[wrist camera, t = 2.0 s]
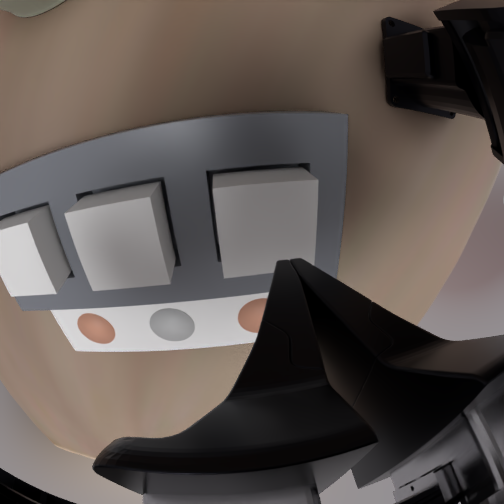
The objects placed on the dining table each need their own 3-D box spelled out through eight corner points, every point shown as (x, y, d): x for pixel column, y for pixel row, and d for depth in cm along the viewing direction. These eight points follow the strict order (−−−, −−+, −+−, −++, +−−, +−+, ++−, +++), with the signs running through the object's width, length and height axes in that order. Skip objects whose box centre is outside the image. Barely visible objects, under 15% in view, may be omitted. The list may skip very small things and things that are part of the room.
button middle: (160, 181, 13) (150, 196, 11) (175, 258, 15) (170, 284, 13) (84, 195, 12) (64, 213, 10) (106, 266, 14) (92, 291, 12)
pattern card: (312, 275, 20) (314, 279, 20) (307, 331, 23) (308, 334, 23) (48, 301, 18) (46, 304, 18) (76, 348, 21) (75, 351, 21)
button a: (49, 204, 12) (27, 222, 10) (72, 270, 14) (57, 293, 12) (4, 218, 12) (-17, 235, 10) (27, 275, 14) (11, 296, 12)
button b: (302, 167, 13) (318, 179, 11) (300, 244, 15) (314, 267, 13) (213, 174, 13) (212, 188, 11) (222, 252, 15) (223, 278, 13)
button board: (325, 111, 14) (348, 114, 12) (320, 257, 19) (335, 282, 17) (-3, 174, 12) (-28, 188, 10) (37, 287, 17) (22, 310, 15)
